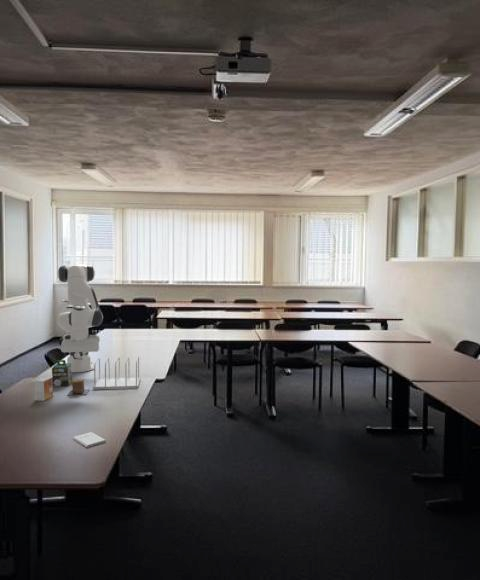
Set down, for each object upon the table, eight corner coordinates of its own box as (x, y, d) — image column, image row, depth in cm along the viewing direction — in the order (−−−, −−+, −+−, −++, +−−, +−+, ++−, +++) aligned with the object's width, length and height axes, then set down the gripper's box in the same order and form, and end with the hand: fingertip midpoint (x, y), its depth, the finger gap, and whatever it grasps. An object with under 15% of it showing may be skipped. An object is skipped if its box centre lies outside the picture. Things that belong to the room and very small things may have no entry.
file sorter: (92, 390, 265) (92, 363, 264) (98, 382, 282) (97, 356, 281) (138, 388, 268) (137, 361, 267) (140, 380, 285) (140, 355, 284)
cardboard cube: (74, 390, 262) (74, 379, 261) (84, 390, 262) (83, 378, 262) (72, 393, 257) (72, 381, 256) (82, 392, 257) (82, 381, 257)
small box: (44, 401, 245) (43, 381, 244) (34, 400, 246) (34, 380, 245) (53, 396, 253) (52, 377, 252) (44, 396, 254) (43, 376, 253)
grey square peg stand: (71, 390, 264) (70, 379, 263) (89, 389, 265) (89, 378, 265) (67, 395, 254) (66, 383, 254) (86, 395, 255) (85, 383, 255)
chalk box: (72, 382, 282) (71, 357, 281) (68, 386, 273) (68, 361, 272) (56, 382, 281) (55, 358, 280) (52, 386, 272) (51, 361, 270)
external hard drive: (86, 449, 186) (73, 440, 195) (106, 443, 192) (91, 435, 201) (86, 445, 186) (73, 436, 195) (105, 439, 191) (91, 431, 200)
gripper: (100, 333, 265) (100, 357, 267) (62, 334, 263) (63, 358, 264) (98, 335, 259) (99, 360, 261) (59, 336, 256) (60, 361, 258)
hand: (80, 359), depth 262 cm, fingers closed
